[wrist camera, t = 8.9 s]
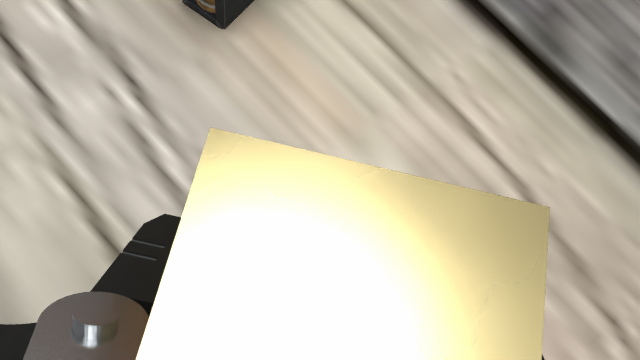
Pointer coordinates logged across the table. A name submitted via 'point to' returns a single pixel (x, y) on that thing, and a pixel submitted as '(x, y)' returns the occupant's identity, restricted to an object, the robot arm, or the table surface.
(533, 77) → the table surface
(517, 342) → the brass peg
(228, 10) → the ammunition clip
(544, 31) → the table surface
